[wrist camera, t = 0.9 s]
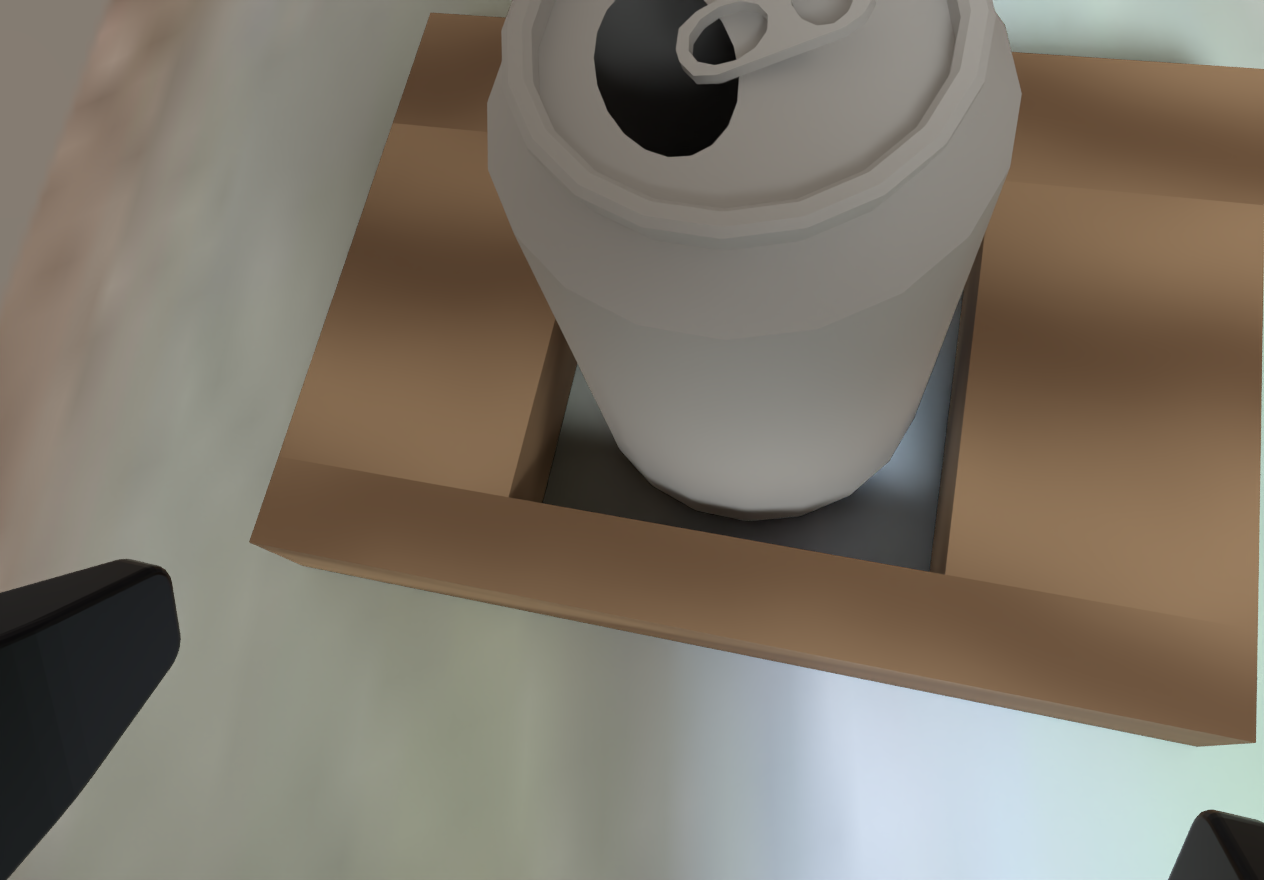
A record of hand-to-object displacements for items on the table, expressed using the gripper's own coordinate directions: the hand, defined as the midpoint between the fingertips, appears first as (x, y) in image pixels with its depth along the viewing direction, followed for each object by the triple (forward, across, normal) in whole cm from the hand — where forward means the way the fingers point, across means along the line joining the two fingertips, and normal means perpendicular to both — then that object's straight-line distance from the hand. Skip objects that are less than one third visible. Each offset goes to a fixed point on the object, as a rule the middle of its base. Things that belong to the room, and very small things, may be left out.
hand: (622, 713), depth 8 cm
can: (+16, +1, +3) cm, 16 cm away
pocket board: (+15, +1, +3) cm, 16 cm away
